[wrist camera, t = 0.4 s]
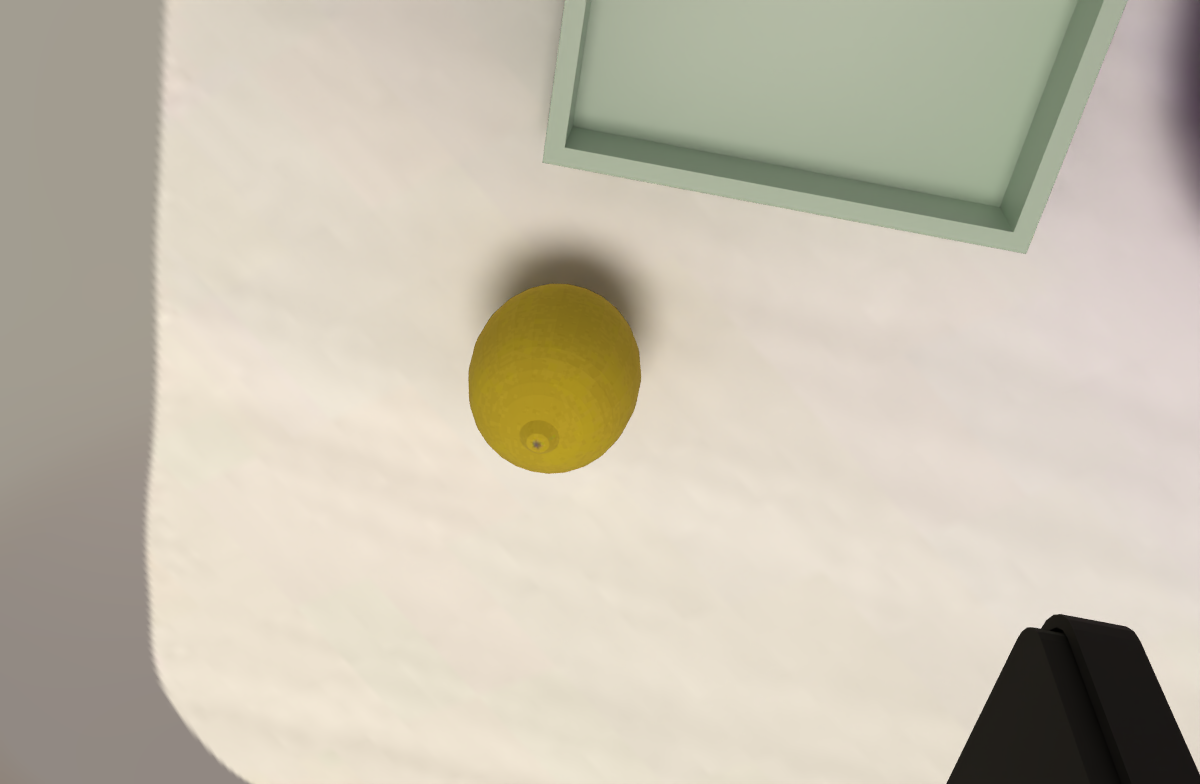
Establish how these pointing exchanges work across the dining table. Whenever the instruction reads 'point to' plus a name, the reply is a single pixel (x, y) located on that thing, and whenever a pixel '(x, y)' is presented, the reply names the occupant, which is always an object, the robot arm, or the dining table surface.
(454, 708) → the dining table surface
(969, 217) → the green rectangular frame
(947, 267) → the dining table surface
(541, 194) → the dining table surface
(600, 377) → the lemon
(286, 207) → the dining table surface
